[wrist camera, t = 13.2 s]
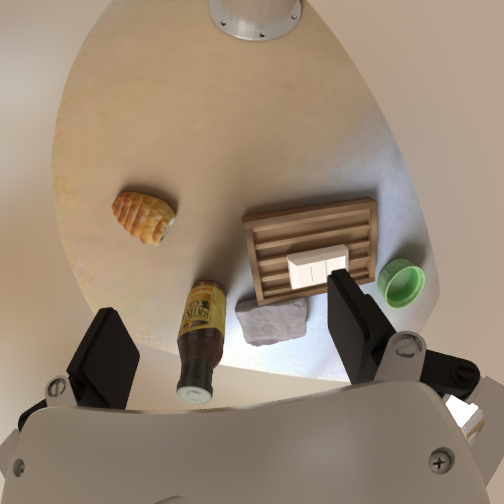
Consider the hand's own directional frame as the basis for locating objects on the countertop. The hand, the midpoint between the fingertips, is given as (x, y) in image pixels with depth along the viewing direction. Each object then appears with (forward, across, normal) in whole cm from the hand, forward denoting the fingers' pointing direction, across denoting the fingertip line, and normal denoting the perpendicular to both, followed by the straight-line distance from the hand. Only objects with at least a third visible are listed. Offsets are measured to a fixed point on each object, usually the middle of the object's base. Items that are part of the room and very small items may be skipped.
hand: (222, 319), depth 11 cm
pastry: (+29, +13, +2) cm, 32 cm away
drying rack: (+28, -11, +12) cm, 33 cm away
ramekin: (+29, -27, +21) cm, 45 cm away
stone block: (+29, -3, +24) cm, 38 cm away
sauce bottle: (+28, +7, +17) cm, 34 cm away
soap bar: (+27, -11, +14) cm, 32 cm away
